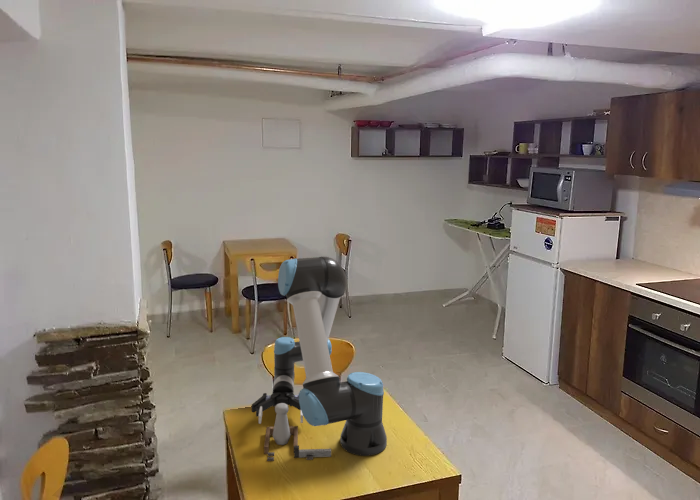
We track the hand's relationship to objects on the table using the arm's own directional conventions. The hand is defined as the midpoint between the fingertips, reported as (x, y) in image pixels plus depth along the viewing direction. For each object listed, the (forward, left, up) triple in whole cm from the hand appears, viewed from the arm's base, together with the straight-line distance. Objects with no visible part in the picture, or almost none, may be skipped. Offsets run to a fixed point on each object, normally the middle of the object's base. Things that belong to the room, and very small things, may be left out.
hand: (280, 419), depth 177 cm
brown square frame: (-4, +2, -7) cm, 9 cm away
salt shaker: (-1, +1, -8) cm, 8 cm away
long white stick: (-13, +5, -7) cm, 16 cm away
